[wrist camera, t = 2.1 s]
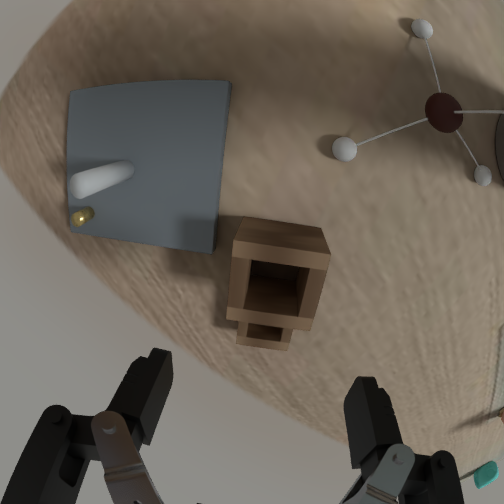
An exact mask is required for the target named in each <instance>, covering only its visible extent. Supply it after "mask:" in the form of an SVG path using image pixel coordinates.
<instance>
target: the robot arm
mask: <svg viewBox="0 0 504 504" xmlns="http://www.w3.org/2000/svg"><path fill="white" fill-rule="evenodd" d="M496 156H497V162H498V166H499V170H500V173H501V175H502V178H503V180H504V114H503V113H502V114H501V116H500V119H499V121H498V125H497V130H496ZM172 382H173V365H172V353H171V351H167V350H162V349H159V348H153V349H152V351H151V353H150V355H149V357H148V358H146V357H142V356H140V357H139V358H138V359H136V360H135V361H134V362H132V364H131V365H130V367H129V369H128V371H127V374H125V376H124V378H123V381H122V382H121V384H120V385H119V387H118V389H117V391H116V393H115V395H114V397H113V399H112V401H111V402H110V404H109V406H108V408H107V409H106V410H105V411H102V412H100V413H98V414H96V415H95V416H83V415H73V414H71V413H70V411H69V410H68V409H67V408H66V407H64V406H61V405H52V406H50V407H48V408H47V409H45V411H44V412H43V414H42V416H41V417H40V419H39V421H38V423H37V425H36V427H35V429H34V430H33V433H32V434H31V436H30V438H29V440H28V442H27V444H26V446H25V448H24V450H23V452H22V454H21V457H20V459H19V461H18V463H17V465H16V467H15V470H14V472H13V475H12V476H11V479H10V481H9V484H8V486H7V489H6V491H5V494H4V496H3V499H2V501H1V504H75V503H76V500H77V497H78V493H79V491H80V487H81V485H82V482H83V479H84V476H85V473H86V471H87V468H88V465H89V462H90V460H97V461H101V462H102V465H103V468H104V472H105V474H104V479H105V482H106V485H107V488H108V490H109V493H110V495H111V498H112V500H113V503H114V504H164V502H163V501H162V499H161V497H160V495H159V493H158V491H157V490H156V488H155V486H154V484H153V482H152V480H151V478H150V476H149V473H148V472H147V469H146V467H145V465H144V463H143V460H142V458H141V456H140V453H139V450H140V448H141V445H142V443H143V444H146V445H150V443H151V440H152V437H153V435H154V432H155V429H156V426H157V424H158V421H159V418H160V415H161V413H162V410H163V407H164V405H165V402H166V399H167V397H168V394H169V391H170V389H171V386H172ZM344 414H345V421H346V427H347V434H348V441H349V448H350V456H351V464H352V469H358V468H361V474H360V475H359V477H358V478H357V480H356V481H355V482H354V484H353V485H352V487H351V488H350V490H349V491H348V492H347V494H346V495H345V496H344V498H343V499H342V500H341V502H340V503H339V504H398V502H397V501H396V499H397V496H398V500H399V504H464V499H463V494H462V489H461V484H460V479H459V475H458V471H457V467H456V463H455V459H454V457H453V456H452V454H451V453H449V452H448V451H445V450H440V451H437V452H436V453H434V454H433V455H432V456H427V455H420V454H415V453H414V452H413V451H412V449H411V448H410V447H408V446H407V445H404V444H403V441H402V438H401V434H400V431H399V427H398V423H397V420H396V416H395V415H394V414H395V413H394V410H393V408H392V403H391V400H390V396H389V395H388V394H387V393H386V391H385V390H384V389H383V388H378V385H377V382H376V379H375V377H362V376H358V377H357V378H356V379H355V381H354V383H353V385H352V386H351V388H350V390H349V392H348V394H347V395H346V397H345V400H344ZM197 504H200V503H197Z"/></svg>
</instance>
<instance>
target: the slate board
mask: <svg viewBox="0 0 504 504" xmlns="http://www.w3.org/2000/svg"><path fill="white" fill-rule="evenodd" d="M231 87H232V83H231V82H230V81H223V80H159V81H143V82H131V83H121V84H112V85H105V86H98V87H91V88H85V89H79V90H74V91H70V100H69V112H68V127H67V190H68V206H69V218H70V228H71V232H74V233H80V234H86V235H92V236H98V237H104V238H111V239H117V240H123V241H129V242H136V243H142V244H148V245H155V246H161V247H167V248H174V249H180V250H187V251H193V252H200V253H206V254H213V252H214V250H215V248H216V234H217V222H218V210H219V198H220V187H221V176H222V166H223V156H224V147H225V137H226V128H227V120H228V111H229V103H230V95H231ZM88 206H90V207H92V208H93V210H94V212H95V216H94V218H93V219H91V220H90V221H88V222H86V223H85V224H83V225H81V226H79V227H75V226H74V225H73V224H72V222H71V216H72V214H74V213H76V212H77V211H79V210H81V209H83V208H85V207H88Z"/></svg>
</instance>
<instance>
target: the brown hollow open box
mask: <svg viewBox="0 0 504 504" xmlns="http://www.w3.org/2000/svg"><path fill="white" fill-rule="evenodd" d="M330 257H331V253H330V250H329V248H328V245H327V242H326V240H325V237H324V235H323V232H322V229H321V228H317V227H311V226H305V225H298V224H292V223H285V222H279V221H272V220H265V219H258V218H251V217H243V219H242V222H241V224H240V226H239V228H238V231H237V233H236V235H235V238H234V240H233V249H232V259H231V270H230V281H229V292H228V303H227V314H226V319H228V320H234V321H239V323H238V331H237V340H236V344H240V345H246V346H253V347H260V348H267V349H274V350H282V351H287V350H288V346H289V343H290V339H291V335H292V331H293V329H297V330H305V331H310V330H311V326H312V323H313V320H314V316H315V313H316V309H317V306H318V302H319V299H320V295H321V292H322V288H323V284H324V280H325V277H326V273H327V269H328V265H329V261H330ZM253 260H258V261H265V262H272V263H279V264H285V265H292V266H299V269H298V273H297V278H296V281H290V280H283V279H276V278H269V277H263V276H256V275H251V268H252V261H253ZM250 323H253V324H250ZM257 324H260V325H257ZM264 325H267V326H264ZM271 326H274V327H271ZM278 327H281V328H278Z"/></svg>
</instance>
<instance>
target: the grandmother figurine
mask: <svg viewBox="0 0 504 504" xmlns="http://www.w3.org/2000/svg"><path fill="white" fill-rule="evenodd" d="M499 413H500V414H499V416H498V417H502V418H501V420H502V422H503V423H504V407H503V408H502V409H501V410H500V412H499Z"/></svg>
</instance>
